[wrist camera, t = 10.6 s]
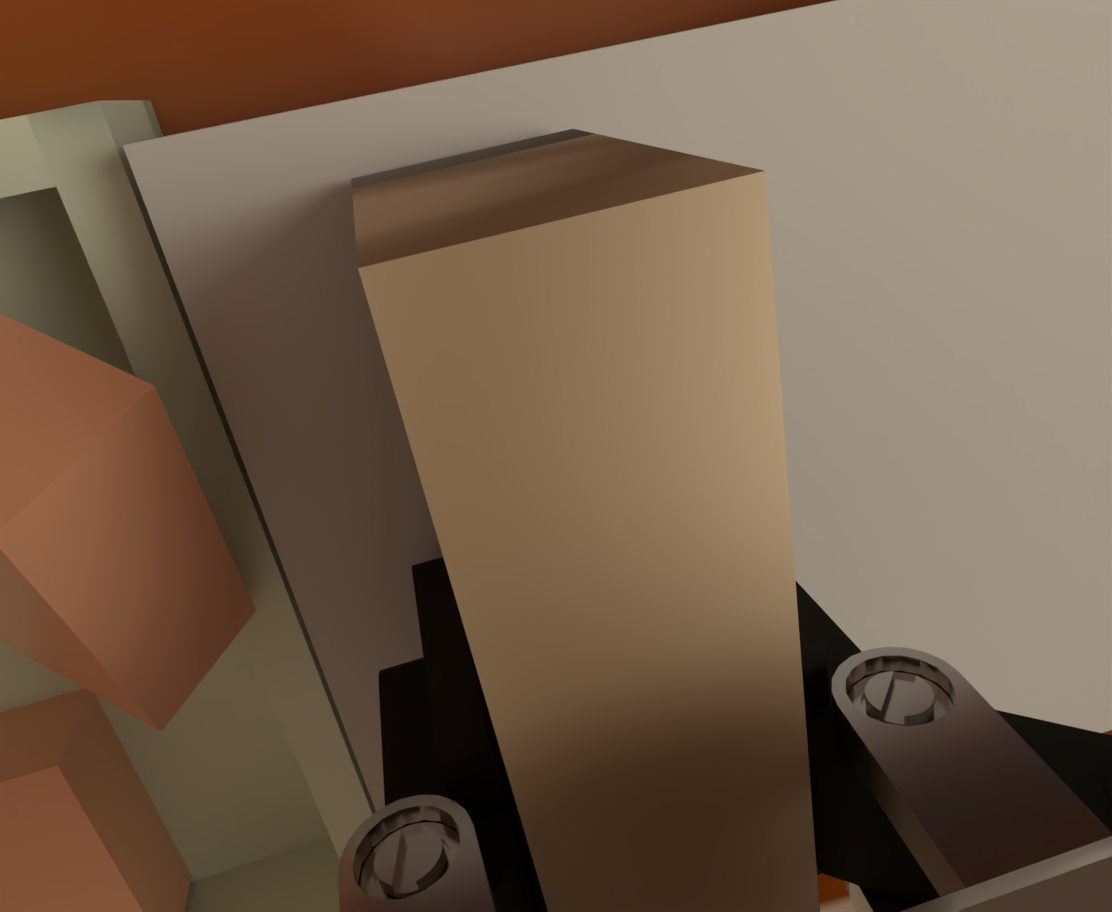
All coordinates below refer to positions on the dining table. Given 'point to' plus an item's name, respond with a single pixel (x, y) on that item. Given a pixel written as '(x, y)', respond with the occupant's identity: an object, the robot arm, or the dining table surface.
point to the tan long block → (610, 503)
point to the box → (201, 425)
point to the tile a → (79, 817)
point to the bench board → (801, 315)
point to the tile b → (106, 532)
